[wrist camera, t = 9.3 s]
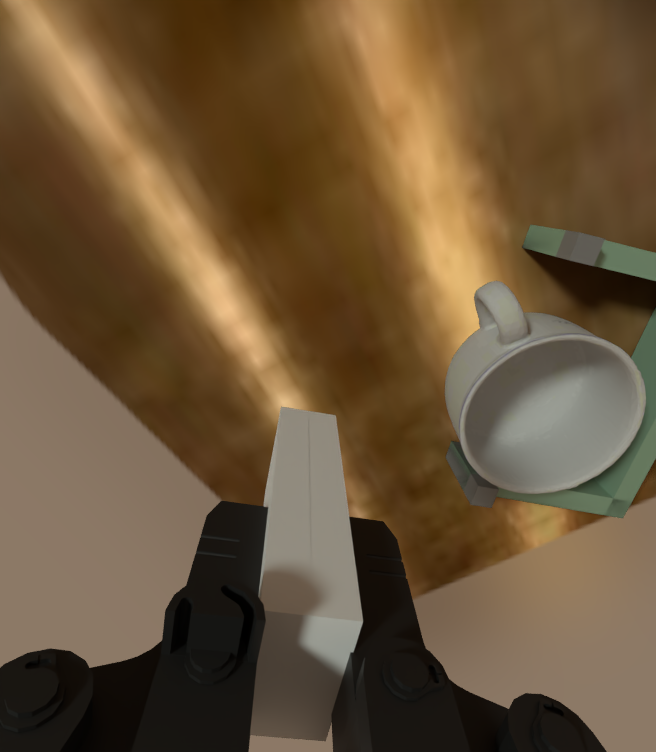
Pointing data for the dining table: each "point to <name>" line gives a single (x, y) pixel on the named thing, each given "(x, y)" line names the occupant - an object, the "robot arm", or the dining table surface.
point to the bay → (652, 360)
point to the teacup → (540, 398)
